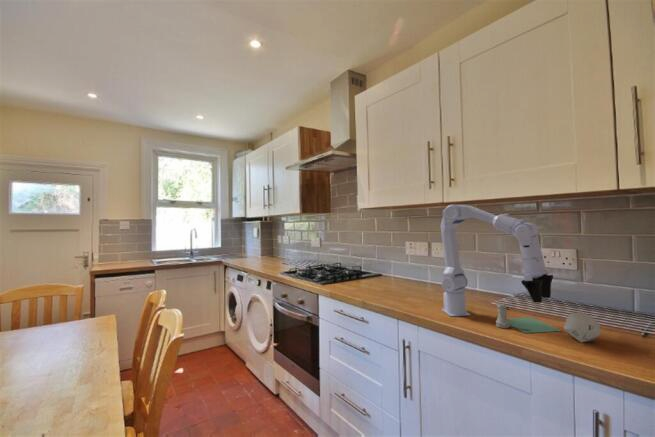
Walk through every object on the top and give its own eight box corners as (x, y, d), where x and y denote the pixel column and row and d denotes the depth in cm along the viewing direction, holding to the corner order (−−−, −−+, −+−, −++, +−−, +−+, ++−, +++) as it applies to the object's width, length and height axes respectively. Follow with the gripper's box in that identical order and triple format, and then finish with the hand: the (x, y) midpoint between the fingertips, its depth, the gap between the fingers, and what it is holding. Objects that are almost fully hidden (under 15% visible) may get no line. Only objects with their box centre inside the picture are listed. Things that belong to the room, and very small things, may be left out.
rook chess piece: (492, 325, 107) (491, 302, 107) (503, 323, 108) (501, 301, 108) (502, 329, 103) (501, 306, 103) (513, 327, 104) (512, 304, 104)
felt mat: (500, 319, 113) (500, 319, 113) (532, 318, 113) (532, 317, 113) (524, 333, 99) (524, 332, 99) (561, 331, 99) (561, 330, 99)
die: (561, 342, 92) (579, 322, 87) (555, 320, 99) (572, 301, 93) (591, 353, 90) (612, 334, 85) (583, 330, 97) (602, 311, 91)
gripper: (537, 259, 93) (548, 304, 91) (554, 254, 102) (564, 295, 100) (513, 261, 99) (522, 304, 97) (531, 256, 107) (540, 295, 105)
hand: (542, 299), depth 99 cm, fingers open, 7 cm apart
